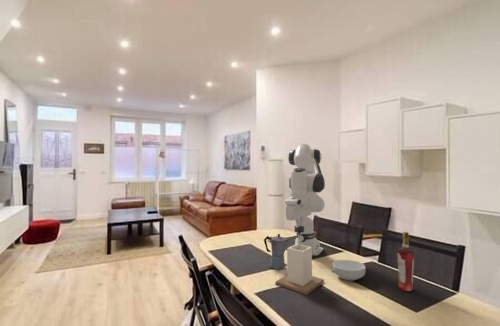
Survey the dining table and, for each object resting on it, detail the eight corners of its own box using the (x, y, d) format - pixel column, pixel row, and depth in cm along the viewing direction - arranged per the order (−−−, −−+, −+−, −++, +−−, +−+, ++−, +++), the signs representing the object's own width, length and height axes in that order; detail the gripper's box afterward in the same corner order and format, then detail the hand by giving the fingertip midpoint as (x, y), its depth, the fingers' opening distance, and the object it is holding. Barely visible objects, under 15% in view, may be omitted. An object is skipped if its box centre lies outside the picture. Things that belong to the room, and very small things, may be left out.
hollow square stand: (293, 273, 161) (293, 240, 161) (323, 282, 149) (323, 246, 149) (275, 284, 147) (275, 248, 147) (306, 294, 136) (306, 255, 135)
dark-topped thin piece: (297, 255, 153) (297, 224, 153) (308, 258, 149) (307, 226, 148) (291, 259, 148) (290, 226, 148) (301, 261, 144) (301, 228, 144)
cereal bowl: (364, 273, 160) (364, 261, 160) (366, 286, 144) (366, 272, 144) (333, 270, 166) (333, 258, 166) (331, 281, 150) (331, 268, 150)
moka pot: (289, 271, 165) (288, 236, 164) (262, 269, 168) (262, 235, 167) (290, 265, 174) (290, 232, 174) (265, 263, 177) (264, 231, 177)
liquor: (394, 286, 144) (394, 230, 144) (409, 286, 144) (409, 230, 143) (401, 293, 136) (401, 234, 136) (417, 293, 136) (417, 234, 136)
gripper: (303, 197, 158) (303, 222, 158) (283, 201, 142) (283, 229, 142) (314, 197, 154) (314, 223, 154) (294, 202, 138) (294, 230, 138)
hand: (299, 226), depth 148 cm, fingers closed
